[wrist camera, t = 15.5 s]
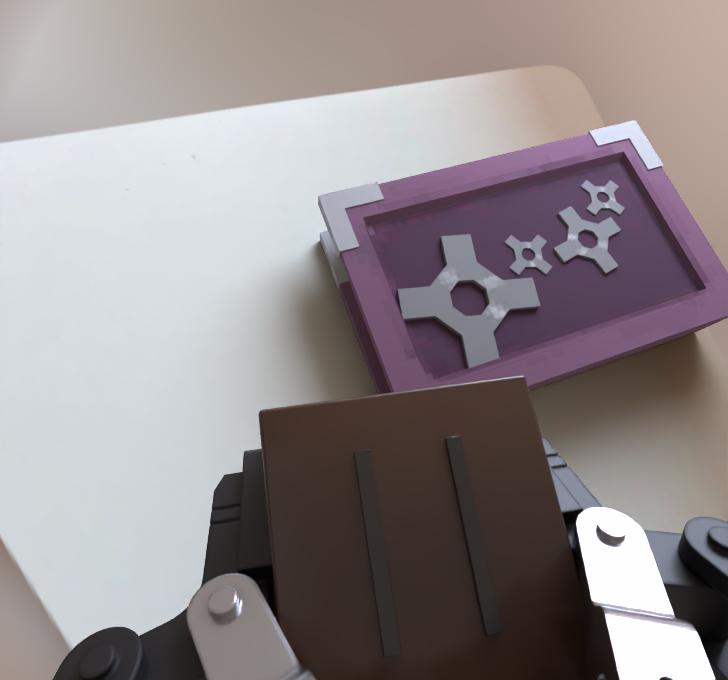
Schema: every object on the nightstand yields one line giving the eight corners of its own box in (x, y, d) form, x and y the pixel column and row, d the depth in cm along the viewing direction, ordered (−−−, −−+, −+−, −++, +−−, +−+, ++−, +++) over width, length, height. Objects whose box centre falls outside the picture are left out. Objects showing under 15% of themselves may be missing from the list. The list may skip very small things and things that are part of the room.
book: (598, 163, 42) (635, 120, 37) (696, 331, 37) (752, 306, 33) (317, 235, 37) (318, 196, 32) (392, 439, 32) (406, 428, 27)
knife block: (417, 568, 23) (612, 681, 8) (304, 590, 23) (288, 758, 7) (397, 453, 25) (528, 372, 10) (291, 470, 24) (257, 408, 9)
